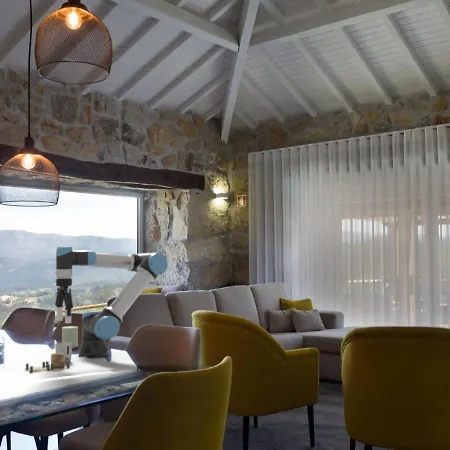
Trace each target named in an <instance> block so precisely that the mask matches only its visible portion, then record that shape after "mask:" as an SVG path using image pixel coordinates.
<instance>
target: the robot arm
mask: <svg viewBox="0 0 450 450" xmlns="http://www.w3.org/2000/svg"><path fill="white" fill-rule="evenodd" d="M168 264H169V263H168V259H167V257H166V256H165V255H164V254H162V253H160V252H155V251H154V252H143V253H129V254H128V255H127V254H118V253H117V254H115V253H104V252H103V253H102V252H95V250H91V249H90V250H89V249H88V250H83V249H82V250H74V249H73V246H69V245H68V246H65V245H64V246H63V245H62V246H57V247H56V252H55V272H54V273H55V277H56V279H55V286H56V287H57V289H56V297H55V298H56V299H55V303H54V304H55V306H56V321H57V322H59V321H60V322H61V321H63V313H64V315H65V316H64V320H65V321H64V323H65V324H72V309H73V308H74V305H73V296H72V289H71V288H70V287H72V286H73V279H72V277H73V266H79V267H94V268H105V269H106V268H107V269H118V270H119V269H122V270H127V271H129V272H134V275H133V277H131V279H130V280H129V282H128V283H126V285H125V287H124V288H123V289H122V290H121V292H120V293H119V294H118V295H117V297H115V299H114V300H113V302H112V303H111V304H110V305H109V306H108V307H104V308H103V309H102V310H101V311H100V310H99V311H87V312H86V311H85V312H83V313H82V315H81V324H82V325H81V330H82V331H81V344H80V346H79V350H78V358H84V357H85V358H87V359H98V358H99V359H100V358H105V357H107V355H108V356H109V350H108V346H107V343H106V340H110V339H113V338H115V337H116V336H117V335H118V333H119V332H120V329H121V327H120V326H121V324H122V323H123V317H124V316H125V314H126V313H127V311H128V310H129V309H130V308H131V306H132V305H133V304H134V303H135V301H136V300H137V299H138V298H139V296H140V295H141V294H142V292H143V291H144V290H145V289H146V287H147V286H148V285H149V283H150V282H151V283H152V282H155V280H156V279H157V278H158V276H160V275H162V274H165V273H166V271H167V270H168ZM63 303H64V305H63ZM64 306H65V308H64ZM63 309H64V310H65V312H63V311H64V310H63Z"/></svg>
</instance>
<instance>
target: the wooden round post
mask: <svg viewBox="0 0 450 450" xmlns="http://www.w3.org/2000/svg"><path fill="white" fill-rule="evenodd" d="M51 364H53V369H59V368H64V367H65V365H66V363H65V354H64V353H56V352H54V353H51V354H50V365H51Z"/></svg>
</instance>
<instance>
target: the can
mask: <svg viewBox="0 0 450 450" xmlns="http://www.w3.org/2000/svg"><path fill="white" fill-rule="evenodd" d="M63 342H71V343H73V344H72V349H75V348H74V347H77V346H78V347H79V326H75V325H74V326H73V325H69V326H62V327H61V343H63ZM78 347H77V348H78Z"/></svg>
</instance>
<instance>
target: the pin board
mask: <svg viewBox="0 0 450 450" xmlns="http://www.w3.org/2000/svg"><path fill="white" fill-rule="evenodd" d="M49 362H50V361H48V360H47V361H42V366H36V367H35V366H33V365H30V363H25V368H24V370H25V371H27V372H28V373H29V374H36V373H37V374H39V373H47V372H55V371H64V370H72V369H73V368H72V367H70V366H71V365H70V362H71V361H70V362H67V363H66V364H65V367H64V368H59V369H53V364H51V363H49Z"/></svg>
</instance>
